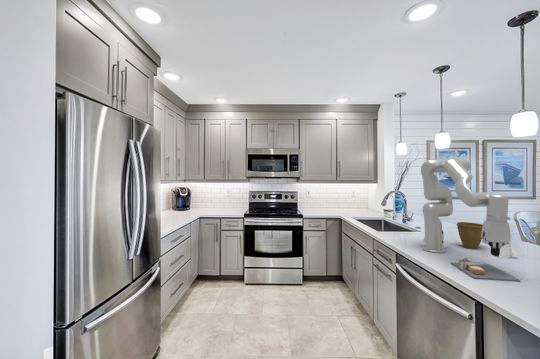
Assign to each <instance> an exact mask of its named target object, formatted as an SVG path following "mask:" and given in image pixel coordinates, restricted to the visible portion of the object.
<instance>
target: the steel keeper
mask: <svg viewBox="0 0 540 359" xmlns="http://www.w3.org/2000/svg"><path fill="white" fill-rule="evenodd" d="M460 263H461V269H462V270H466V265H481V266H483V264H484V263H481V261H480V262H479V261H470V262H463V261H460Z"/></svg>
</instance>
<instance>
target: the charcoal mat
mask: <svg viewBox="0 0 540 359" xmlns="http://www.w3.org/2000/svg"><path fill="white" fill-rule="evenodd" d="M450 264H451V265H452V266H454V267H455V268H456V269H458V270H459V271H461V272H462V273H464V274H465V275H467V276H469V277H470V278H472V279H473V280H486V281H500V282H501V281H503V282H519V283H521V279H519V278H517V277H515V276H513V275H511V274H509V273H507V272H506V271H504V270H501V269H499V268H497V267H496V266H494V265H492V264H489V263H482V264H483V266H481V265H477V266H478V267H480V268H482V269H483V270H485V275H482V274H475V273H473V272H472V271H470V270H469V269H467V268H466V270H462V269H461V264H460V263H459V262H453V261H451V262H450Z"/></svg>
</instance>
